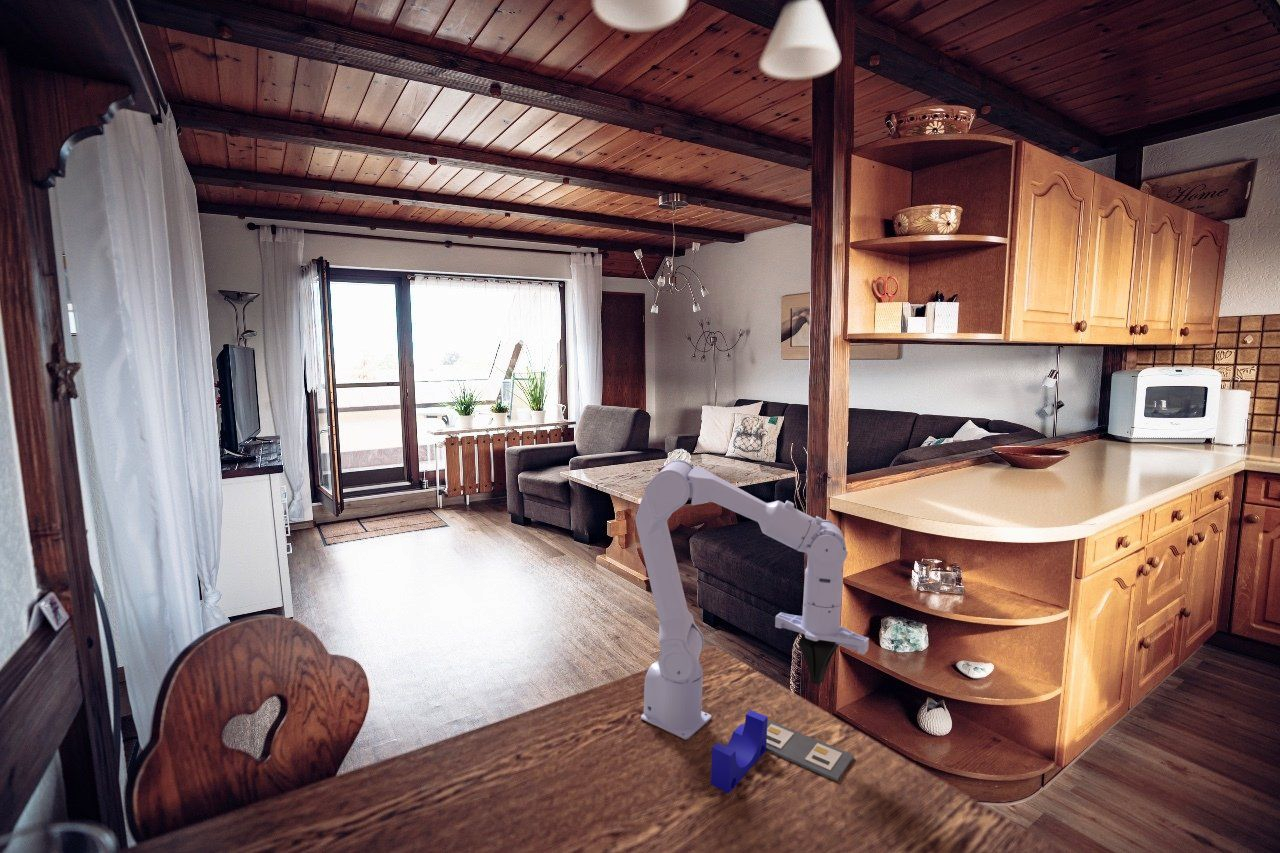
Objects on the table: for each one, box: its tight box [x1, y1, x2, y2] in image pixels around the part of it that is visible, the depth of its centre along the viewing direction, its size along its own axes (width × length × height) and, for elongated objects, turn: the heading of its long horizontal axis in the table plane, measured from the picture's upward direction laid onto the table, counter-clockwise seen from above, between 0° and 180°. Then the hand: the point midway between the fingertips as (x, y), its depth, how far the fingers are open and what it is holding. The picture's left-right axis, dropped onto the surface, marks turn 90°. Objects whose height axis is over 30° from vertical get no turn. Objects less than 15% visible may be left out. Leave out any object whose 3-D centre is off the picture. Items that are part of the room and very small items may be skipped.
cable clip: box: [710, 709, 769, 794], centre depth 96 cm, size 12×4×6 cm, turn 143°
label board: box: [766, 719, 855, 783], centre depth 100 cm, size 15×7×1 cm, turn 53°
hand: (817, 681), depth 101 cm, fingers closed
